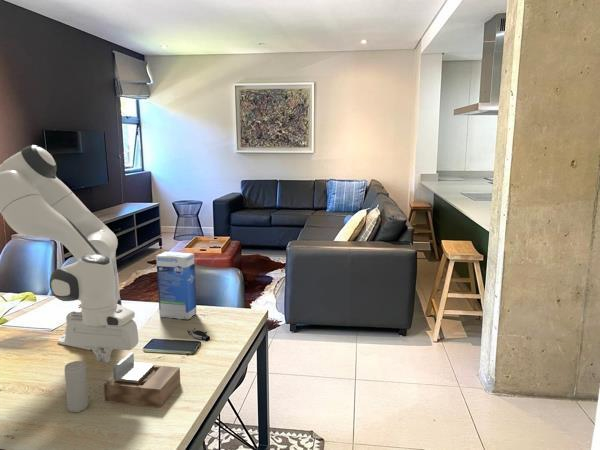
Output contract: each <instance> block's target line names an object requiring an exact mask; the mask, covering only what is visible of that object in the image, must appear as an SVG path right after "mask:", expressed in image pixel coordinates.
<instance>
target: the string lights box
mask: <svg viewBox="0 0 600 450" xmlns="http://www.w3.org/2000/svg"><path fill="white" fill-rule="evenodd" d="M155 258H156V259H155V261H156V273H157V274H156V276H157V292H158V307H159V308H158V309H159V310H158V311H159V318H160V317H169V318H168V319H171V318H178V319H177V320H181V319H190V318H191V317H192V316H193V315H195V314H196V313H197V292H196V289H197V288H196V287H197V286H196V271H195V270H196V269H195V268H196V265H195V252H194V253H193V252H177V251H175V252H174V251H164V252H162V253H159V254H157V255H156V256H155ZM196 315H197V314H196ZM196 315H195V316H196ZM193 317H194V316H193ZM193 317H192V318H193ZM192 318H191V319H192ZM191 319H190V320H191Z"/></svg>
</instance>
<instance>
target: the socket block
mask: <svg viewBox="0 0 600 450" xmlns="http://www.w3.org/2000/svg"><path fill="white" fill-rule="evenodd" d="M180 385H181V367H179V366H169V365H167V366H166V365H156V364H154V368H153V369H152V370H151V371H150V372H149V373H148V374H147V375H146V376H145V377H144V378H143V379H142V380H141V381H140V382H139V383H132V382H122V381H114V375H113V374H112V376H111V377H110V378H108V380H107V381H105V382H104V383H103V393H104V402H109V403H117V404H118V403H119V404H129V405H138V406H147V407H154V408H155V407H156V408H162V406H164V404H165V403H166V402H167V401H168V400H169V398H170V397H171V396H172V395H173V393H174V392H175V391H176V390H177V388H178V387H179V386H180Z"/></svg>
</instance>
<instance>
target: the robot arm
mask: <svg viewBox="0 0 600 450" xmlns="http://www.w3.org/2000/svg"><path fill="white" fill-rule="evenodd" d="M56 173H57V162H56V160H55V159H54V157H53V155H52V154H51V153H49V152H48V151H47V150H46V149H45V148H43V146H39V145H36V144H32V145H28V146H26V147H24V148H22V149H21V150H20V151H19V152H16V153H14V154H13V155H11V156H10V157H8V158H6V159H5V160H4V161H3V162H2V163H0V214H1V216H2V217H3V219H4V221H5V222H6V223H7V225H8V226H9V227H10V228H11V229H12V230H13V231H14V232H16V233H17V234H20V235H22V236H25V237H31V238H41V239H43V238H44V239H48V240H53V241H55V242H59V243H60V244H62V245H63V246H64V247H65V249H67V250H68V251H69V252H70V253H71V254H72V256H73V257H74V258H75V259H76V260H77V261H75V262H73V263H70V264H68V265H63V266H62V267H59V268H56V269H55V270H53V272H51V275H50V277H49V289H50V291H51V294H52V295H53V296H54V298H56V299H57V300H59V301H62V302H74V301H80V304H78V309H81V310H80V311H78V312H77V311H71V312H69V313H67V315H66V317H65V320H66V326H65V331H64V332H65V333H64V334H62V335H61V336H60V337H59V338H58V340H57V344H58V345H59V344H60V345H63V346H68V347H69V346H70V347H74V348H78V349H82V350H88V351H90V350H92V352H93V354H94V355H95V357H96V362H98V363H99V362H100V363H108V362H110V360H111V353H112V352H113V350H121V351H132V350H133V349H134V348H135V347H136V346H137V345H138V343H139V332H138V331H139V330H138V326H137V323H136V321H135V320H133V319H134V318H135V315H136V314H135V311H134V310H132V309H130V308H127V307H125V306H123V305H122V298H121V296H120V281H119V274H118V268H117V267H118V266H117V259H116V256H117V255H116V253H117V252H116V251H117V248H118V245H119V243H118V242H119V241H118V238H117V236H116V234H115V233H114V232H113V231H112V230H111V229H110V228H109V227H108V226H107V225H106V224H105V223H104V222H103V221H102V220H100V219H99V218H98V217H97V215H95V214H93V212H91V210H89V208H87V206H86V205H85V204H84V203H83V202H82V201H81V199H79V197H78V196H76V194H75V193H74V192H73V191H72V190H71V189H70V188H69V187H68V186H67V185H66V184H65V183H64V182H63V181H62V180H61V179H59V178H58V177H57V174H56ZM101 349H103V351H104V352H103V351H102V350H101Z"/></svg>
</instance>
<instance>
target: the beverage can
mask: <svg viewBox="0 0 600 450" xmlns="http://www.w3.org/2000/svg"><path fill="white" fill-rule="evenodd" d="M86 370H87V369H86V364H85V362H84V360H83V361H82V360H75V361H70V362H68V363H67V364H65V366H64V378H65V379H64V381H65V391H66V402H67V403H66V404H67V410H68V411H70V412H71V413H79V412H82V411H84V410H85V409H87V407H88V406H89V396H88V382H87V381H88V380H87V371H86Z"/></svg>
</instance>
